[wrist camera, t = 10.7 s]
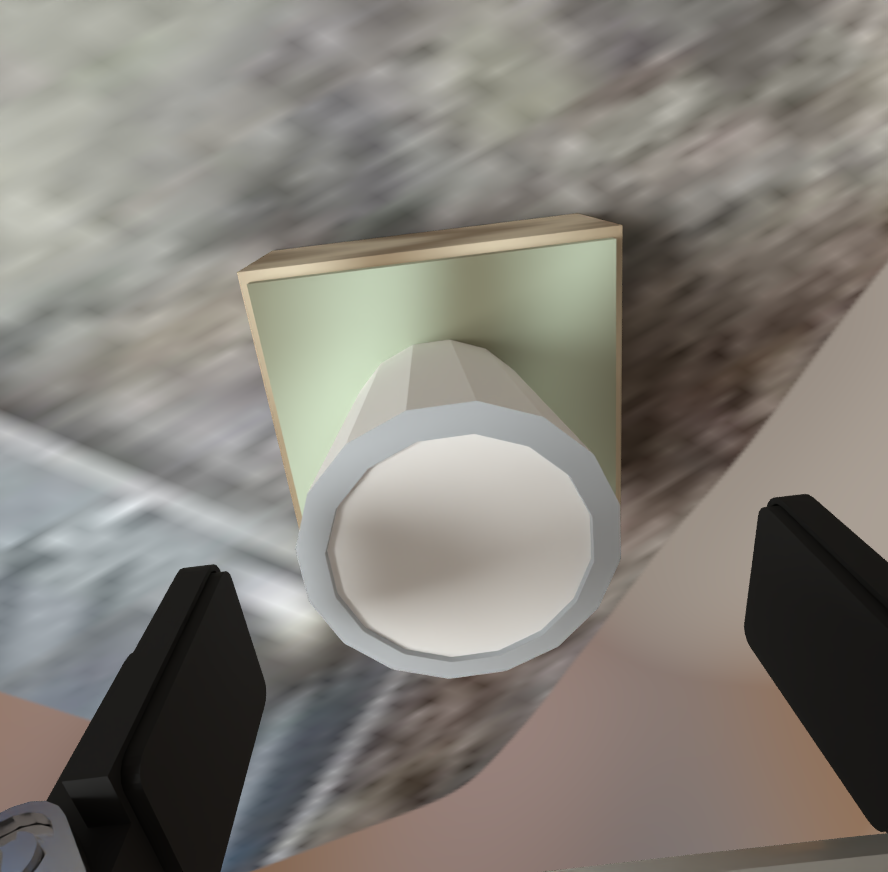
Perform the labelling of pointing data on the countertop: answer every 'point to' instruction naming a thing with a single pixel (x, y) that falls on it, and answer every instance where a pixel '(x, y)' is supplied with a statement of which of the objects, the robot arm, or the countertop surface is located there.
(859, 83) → the countertop surface
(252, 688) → the robot arm
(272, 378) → the pedestal
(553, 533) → the white grey-rimmed cylinder
